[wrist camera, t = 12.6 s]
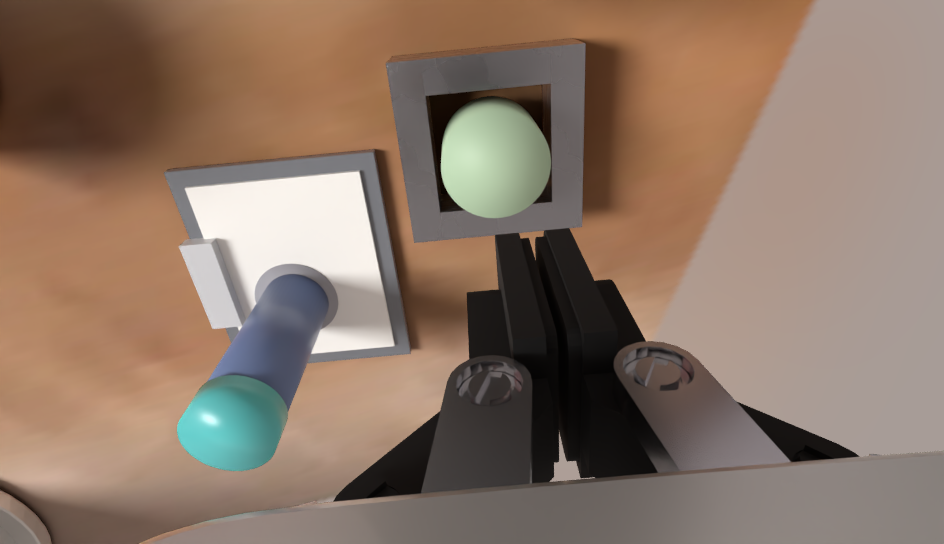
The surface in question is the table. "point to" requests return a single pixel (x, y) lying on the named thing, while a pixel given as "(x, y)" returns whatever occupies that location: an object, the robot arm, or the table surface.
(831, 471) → the robot arm
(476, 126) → the button
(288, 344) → the cylinder
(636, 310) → the table surface
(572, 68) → the button base
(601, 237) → the table surface
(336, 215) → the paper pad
